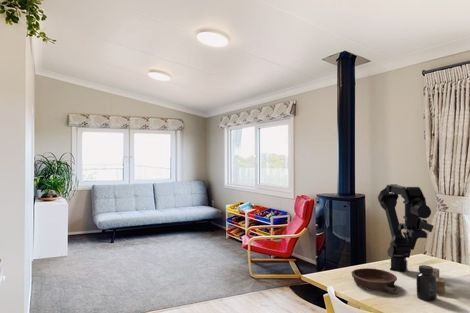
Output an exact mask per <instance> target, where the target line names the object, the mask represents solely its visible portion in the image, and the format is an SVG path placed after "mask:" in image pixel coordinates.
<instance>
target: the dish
mask: <svg viewBox="0 0 470 313" xmlns="http://www.w3.org/2000/svg"><path fill="white" fill-rule="evenodd" d="M351 276H352V278H353V280H354V283H355V284H356V285H357V286H359V287H360V288H362V289H366V290H369V291H373V292H389V293H396V292H397V291H398V287H397V286H396V284H395V283H396V282H397V280H398V278H397V276H396V275H395V274H393V273H392V272H389V271H386V270H383V269H378V268H372V267H371V268H370V267H367V268H357V269H354V270H352V271H351Z"/></svg>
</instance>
